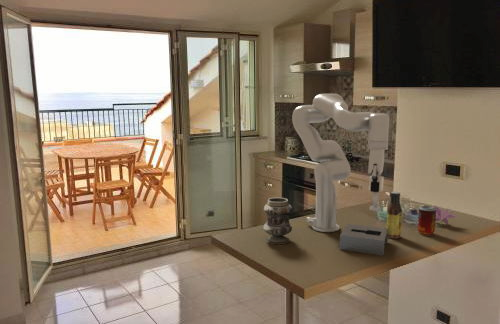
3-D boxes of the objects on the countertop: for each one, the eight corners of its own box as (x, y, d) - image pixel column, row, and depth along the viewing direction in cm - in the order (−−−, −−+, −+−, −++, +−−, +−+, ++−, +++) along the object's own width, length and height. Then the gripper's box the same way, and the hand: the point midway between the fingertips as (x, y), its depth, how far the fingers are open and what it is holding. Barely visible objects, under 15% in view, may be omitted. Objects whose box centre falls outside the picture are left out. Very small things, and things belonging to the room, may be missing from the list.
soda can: (421, 230, 197) (423, 204, 195) (437, 233, 192) (439, 207, 190) (414, 233, 193) (416, 207, 191) (429, 237, 188) (431, 210, 186)
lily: (460, 229, 201) (459, 209, 204) (448, 224, 194) (447, 204, 197) (435, 231, 210) (434, 212, 213) (423, 227, 203) (422, 207, 206)
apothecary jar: (285, 234, 192) (285, 195, 189) (296, 243, 181) (297, 201, 178) (259, 237, 188) (259, 197, 185) (269, 246, 177) (269, 204, 174)
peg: (367, 211, 173) (369, 178, 170) (369, 207, 177) (370, 175, 175) (380, 212, 171) (382, 179, 168) (382, 209, 175) (383, 176, 173)
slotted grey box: (339, 249, 174) (340, 235, 173) (347, 236, 188) (347, 223, 187) (383, 255, 167) (384, 240, 166) (387, 242, 182) (388, 228, 181)
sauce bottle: (401, 239, 185) (404, 194, 181) (386, 238, 186) (389, 194, 183) (399, 234, 191) (402, 191, 188) (384, 233, 192) (387, 190, 189)
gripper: (371, 142, 179) (369, 185, 182) (364, 147, 163) (362, 194, 166) (390, 143, 176) (387, 186, 179) (385, 148, 160) (382, 195, 163)
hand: (375, 189), depth 172 cm, fingers closed on peg, 5 cm apart
